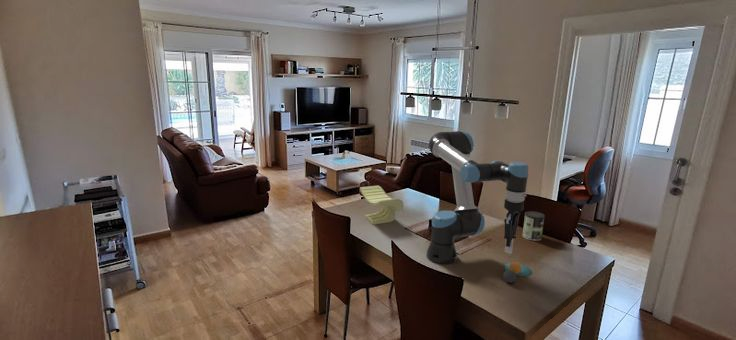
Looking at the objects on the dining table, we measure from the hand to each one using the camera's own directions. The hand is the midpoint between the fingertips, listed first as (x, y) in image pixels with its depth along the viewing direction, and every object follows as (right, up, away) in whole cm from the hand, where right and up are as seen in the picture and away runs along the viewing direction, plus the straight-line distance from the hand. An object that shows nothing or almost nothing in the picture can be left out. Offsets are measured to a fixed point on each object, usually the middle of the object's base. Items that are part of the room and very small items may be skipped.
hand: (508, 252), depth 156 cm
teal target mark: (+12, -12, +19) cm, 25 cm away
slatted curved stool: (-52, +4, +78) cm, 94 cm away
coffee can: (+35, -4, +56) cm, 66 cm away
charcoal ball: (+4, -12, +7) cm, 15 cm away
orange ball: (+9, -11, +15) cm, 20 cm away
